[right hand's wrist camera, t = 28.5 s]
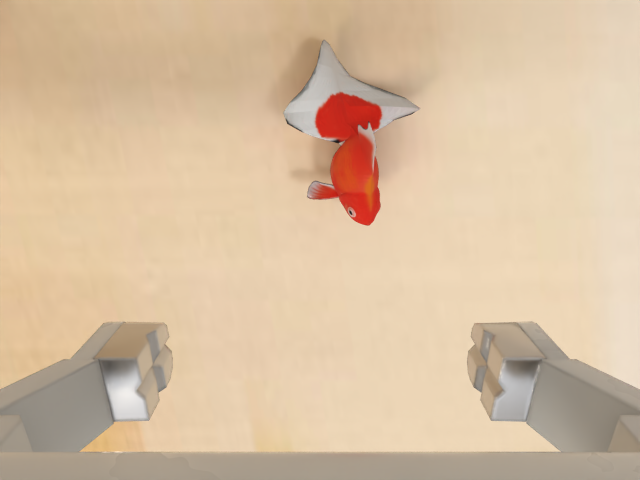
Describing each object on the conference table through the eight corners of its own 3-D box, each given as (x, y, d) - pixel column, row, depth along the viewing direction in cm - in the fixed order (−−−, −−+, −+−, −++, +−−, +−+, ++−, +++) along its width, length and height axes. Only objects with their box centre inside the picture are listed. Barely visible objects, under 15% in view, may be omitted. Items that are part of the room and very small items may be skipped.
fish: (265, 224, 37) (299, 210, 28) (272, 63, 38) (307, -2, 29) (367, 231, 41) (427, 221, 32) (371, 85, 42) (429, 34, 33)
